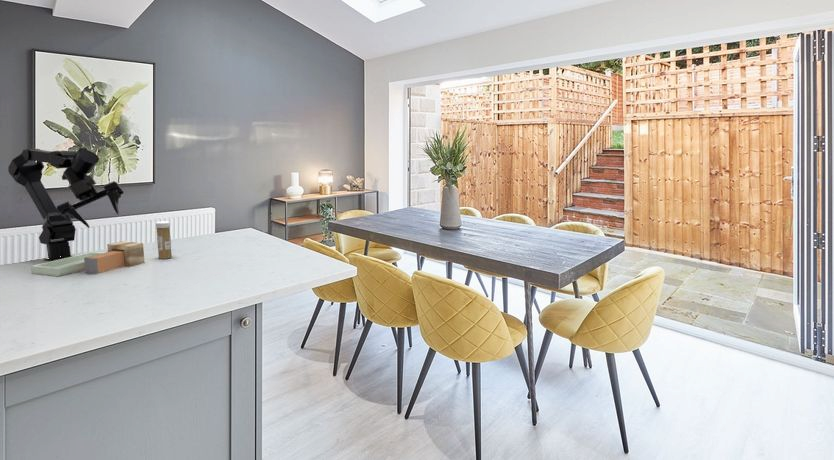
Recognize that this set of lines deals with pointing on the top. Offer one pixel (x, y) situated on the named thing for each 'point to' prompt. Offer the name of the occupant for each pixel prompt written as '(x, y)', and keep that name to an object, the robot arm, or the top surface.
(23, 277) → the top surface
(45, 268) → the tray
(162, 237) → the sprinkles bottle
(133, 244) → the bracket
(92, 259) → the orange rectangular block
